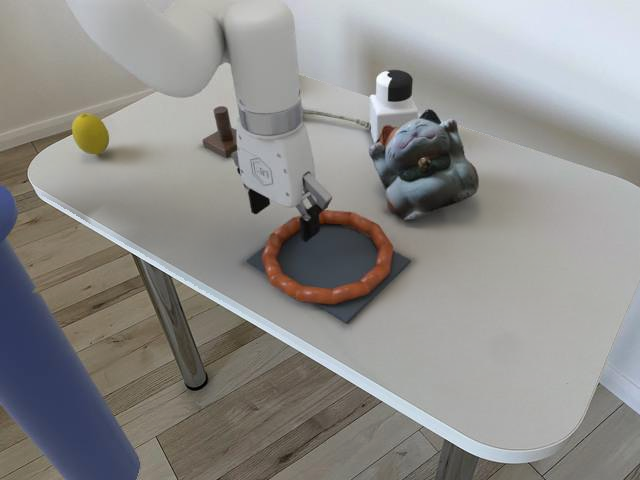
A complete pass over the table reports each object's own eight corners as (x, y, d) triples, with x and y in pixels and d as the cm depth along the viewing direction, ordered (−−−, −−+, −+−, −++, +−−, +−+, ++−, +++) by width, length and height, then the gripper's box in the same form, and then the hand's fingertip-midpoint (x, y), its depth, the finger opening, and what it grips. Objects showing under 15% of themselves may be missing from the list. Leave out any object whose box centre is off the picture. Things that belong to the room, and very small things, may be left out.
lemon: (105, 142, 101) (90, 102, 95) (120, 154, 98) (105, 113, 92) (76, 154, 98) (59, 114, 92) (91, 167, 95) (73, 125, 89)
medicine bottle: (407, 126, 103) (411, 63, 94) (416, 147, 97) (420, 82, 89) (369, 130, 102) (369, 67, 94) (376, 151, 97) (377, 86, 88)
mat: (346, 323, 69) (346, 321, 69) (246, 262, 77) (246, 259, 77) (410, 262, 77) (410, 259, 76) (313, 212, 85) (313, 209, 85)
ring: (336, 328, 68) (335, 317, 66) (237, 267, 76) (235, 256, 74) (416, 250, 78) (417, 240, 76) (321, 203, 86) (320, 193, 84)
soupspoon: (274, 107, 110) (258, 125, 106) (271, 92, 108) (254, 109, 103) (378, 121, 103) (365, 140, 99) (377, 104, 100) (364, 124, 96)
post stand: (226, 158, 96) (218, 122, 91) (203, 146, 99) (195, 111, 94) (251, 143, 99) (245, 107, 95) (228, 132, 102) (222, 97, 97)
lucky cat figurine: (383, 228, 82) (357, 136, 77) (388, 207, 93) (365, 125, 88) (485, 203, 79) (464, 105, 74) (477, 184, 90) (458, 98, 85)
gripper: (199, 103, 68) (224, 212, 80) (303, 150, 60) (313, 262, 72) (244, 81, 72) (261, 187, 84) (346, 121, 64) (349, 232, 76)
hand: (285, 222), depth 78 cm, fingers open, 9 cm apart
